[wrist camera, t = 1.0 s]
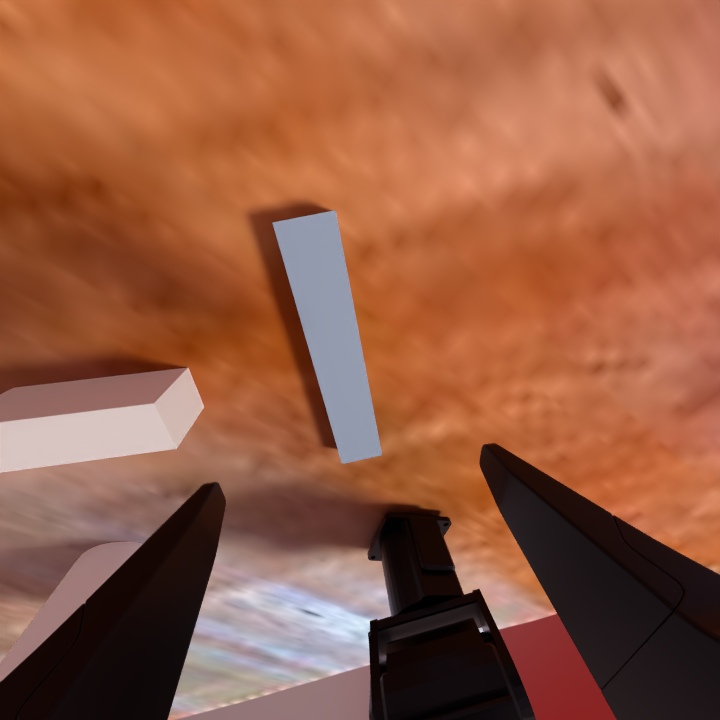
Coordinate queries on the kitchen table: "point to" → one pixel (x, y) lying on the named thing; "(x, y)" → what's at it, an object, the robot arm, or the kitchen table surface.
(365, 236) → the kitchen table surface
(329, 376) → the bar
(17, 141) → the kitchen table surface
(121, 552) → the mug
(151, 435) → the fulcrum
